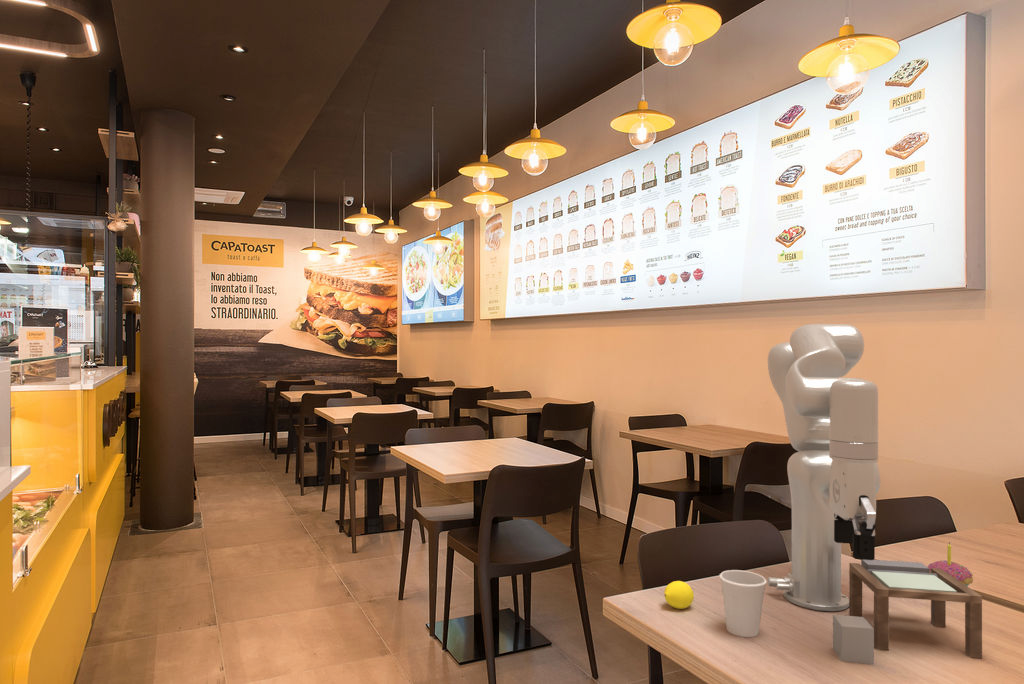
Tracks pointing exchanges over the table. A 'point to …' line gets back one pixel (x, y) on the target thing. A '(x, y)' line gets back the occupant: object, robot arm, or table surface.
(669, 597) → the lemon
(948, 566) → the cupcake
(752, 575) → the dixie cup
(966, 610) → the stand
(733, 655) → the table surface
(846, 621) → the stone
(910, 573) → the trapdoor
